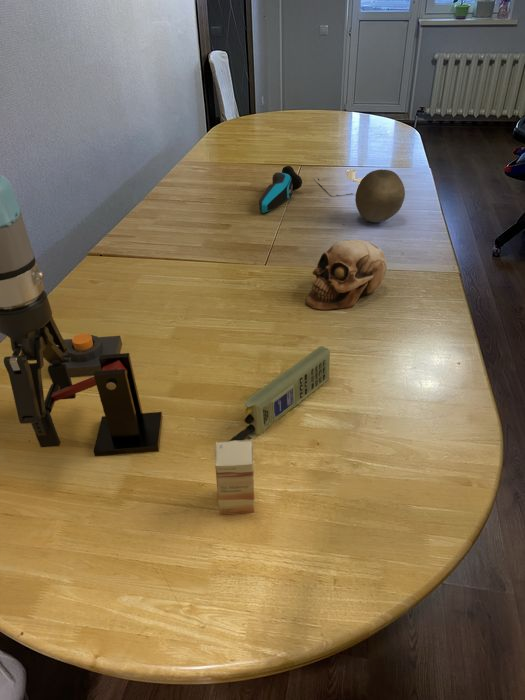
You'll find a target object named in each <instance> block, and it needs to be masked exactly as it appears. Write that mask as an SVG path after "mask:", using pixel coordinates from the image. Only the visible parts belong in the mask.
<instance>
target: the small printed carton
mask: <svg viewBox="0 0 525 700" xmlns="http://www.w3.org/2000/svg"><path fill="white" fill-rule="evenodd" d="M214 466H215V467H214V468H215V479H216V491H217V502H218V513H219V515H239V514H240V515H241V514H250V513H251V514H252V513H255V467H254V466H255V465H254V443H253V440H252V439H249V440H246V439H244V440H238V441H237V440H236V441H229V440H227V441H226V440H225V441H216V442H215V445H214Z"/></svg>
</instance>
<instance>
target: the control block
mask: <svg viewBox="0 0 525 700" xmlns="http://www.w3.org/2000/svg"><path fill="white" fill-rule="evenodd" d="M90 335H91V337H92V341H93V346H92V347H91V348H89V349H87V350H82V351H77V350H75V349H74V346H73V342H72V339H73V338H67V339H63V340H64V342H65V344H66V346H67V348H68V351H67V353H64V355H65V356H66V355H70V357H71V362H69V363H64V364H66V366H67V369H68V372H69V375H70V378H79V377H90V376H91V377H94V373H95V371H102V369H101V365H100V362H99V356H100V355H108V354H121V351H122V347H123V341H122V336H121V335H110V336H109V335H108V336H107V335H106V336H98V335H93V334H90ZM57 346H59V345H57ZM51 365H52V364H49V366H51ZM47 372H48V374H49V371H48V370H47ZM49 377H50V374H49ZM50 379H51V377H50Z"/></svg>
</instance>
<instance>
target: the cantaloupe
mask: <svg viewBox="0 0 525 700" xmlns="http://www.w3.org/2000/svg"><path fill="white" fill-rule="evenodd" d="M405 198H406V190H405V185H404V182H403V181H402V179H401V178H400V175H398V174H397V173H396V172H395V171H392V170H390V169H382V168H381V169H376V170H372V171H370V172H369V173H367V174H366V176H365V177H364V178H363V179H362V180H361V182H360V184H359V185H358V188H357V191H356V194H355V199H354V201H355V207H356V209H357V211H358V214H359V215H360V216H361V218H362V219H363V220H365V221H367V222H370V223H382V222H384V221H387V220H389V219H390V218H392V217H393V216H395V215H396V214H397V213H398V212H399V211H400V210H401V208H402V206H403V204H404V201H405Z"/></svg>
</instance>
